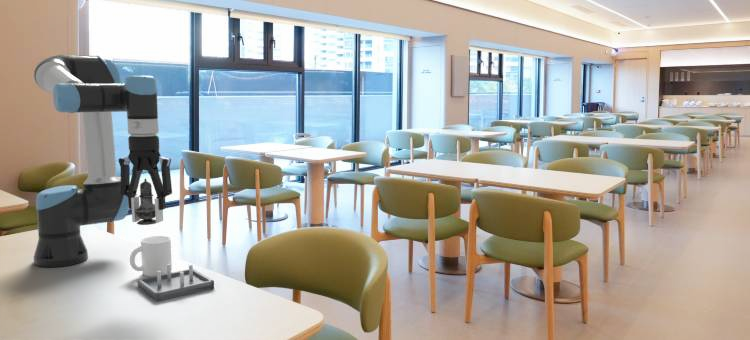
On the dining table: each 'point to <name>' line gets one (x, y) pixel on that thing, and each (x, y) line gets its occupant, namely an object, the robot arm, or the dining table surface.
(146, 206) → the dark grey tall piece
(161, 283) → the tray
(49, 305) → the dining table surface
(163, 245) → the mug
